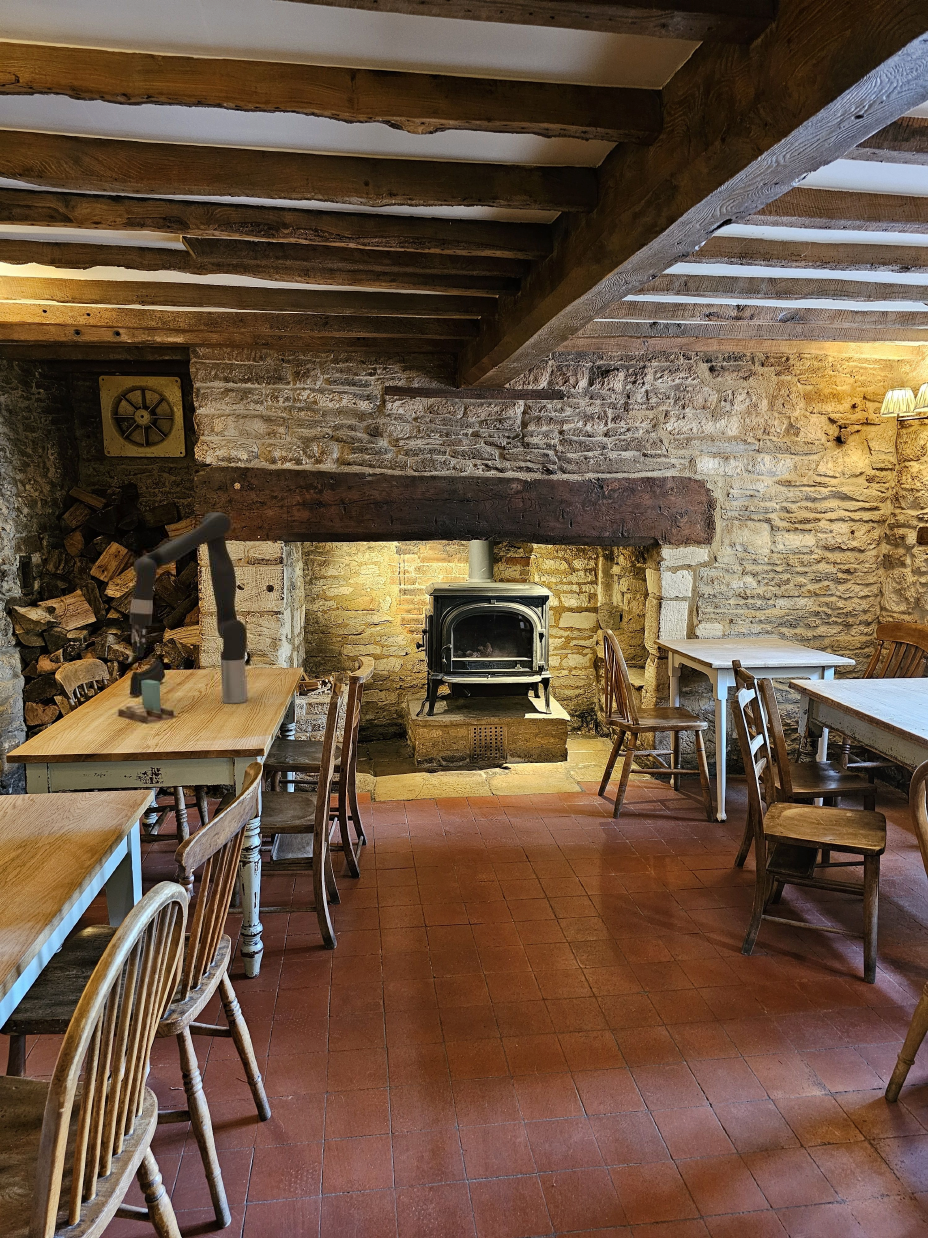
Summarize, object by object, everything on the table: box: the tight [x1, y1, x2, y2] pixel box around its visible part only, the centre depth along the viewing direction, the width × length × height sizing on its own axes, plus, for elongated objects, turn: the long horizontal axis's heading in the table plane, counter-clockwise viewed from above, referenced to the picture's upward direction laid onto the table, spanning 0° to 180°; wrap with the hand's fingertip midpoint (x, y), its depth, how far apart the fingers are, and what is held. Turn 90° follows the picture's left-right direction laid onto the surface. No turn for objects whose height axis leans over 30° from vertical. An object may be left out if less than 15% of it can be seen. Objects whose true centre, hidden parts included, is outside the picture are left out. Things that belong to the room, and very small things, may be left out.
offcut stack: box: [125, 703, 147, 716], centre depth 293 cm, size 8×4×4 cm, turn 53°
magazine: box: [129, 658, 166, 696], centre depth 342 cm, size 17×3×30 cm
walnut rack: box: [116, 706, 181, 725], centre depth 294 cm, size 20×13×4 cm, turn 53°
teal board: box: [141, 680, 162, 712], centre depth 297 cm, size 7×3×12 cm, turn 53°
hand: (137, 655), depth 300 cm, fingers open, 8 cm apart
